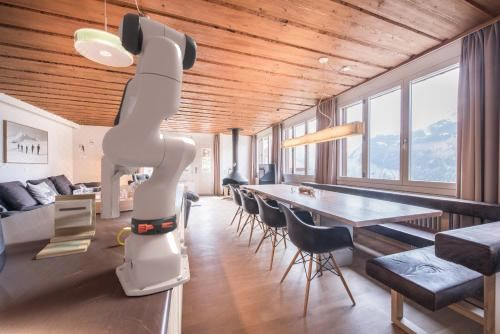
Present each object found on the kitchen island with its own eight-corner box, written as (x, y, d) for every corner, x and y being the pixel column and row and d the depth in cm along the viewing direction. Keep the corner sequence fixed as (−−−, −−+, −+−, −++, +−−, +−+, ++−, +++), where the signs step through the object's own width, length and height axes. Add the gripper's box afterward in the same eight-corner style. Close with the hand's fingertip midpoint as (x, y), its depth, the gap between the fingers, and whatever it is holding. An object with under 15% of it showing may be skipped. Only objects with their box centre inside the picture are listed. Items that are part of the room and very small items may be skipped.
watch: (134, 242, 81) (136, 226, 82) (136, 244, 79) (137, 228, 80) (116, 244, 78) (117, 228, 78) (117, 246, 76) (119, 229, 76)
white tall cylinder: (110, 219, 83) (110, 155, 83) (96, 218, 84) (97, 155, 85) (123, 215, 89) (123, 156, 90) (110, 215, 91) (110, 156, 91)
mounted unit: (93, 237, 86) (93, 195, 86) (50, 242, 80) (50, 197, 80) (95, 232, 93) (95, 193, 93) (56, 237, 86) (56, 195, 86)
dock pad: (85, 251, 71) (85, 248, 71) (36, 259, 65) (36, 255, 65) (90, 241, 81) (90, 237, 81) (48, 246, 75) (49, 243, 75)
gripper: (120, 153, 99) (94, 175, 92) (138, 150, 86) (111, 175, 78) (130, 163, 103) (106, 184, 95) (149, 161, 89) (124, 186, 82)
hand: (108, 180), depth 87 cm, fingers closed on white tall cylinder, 6 cm apart
